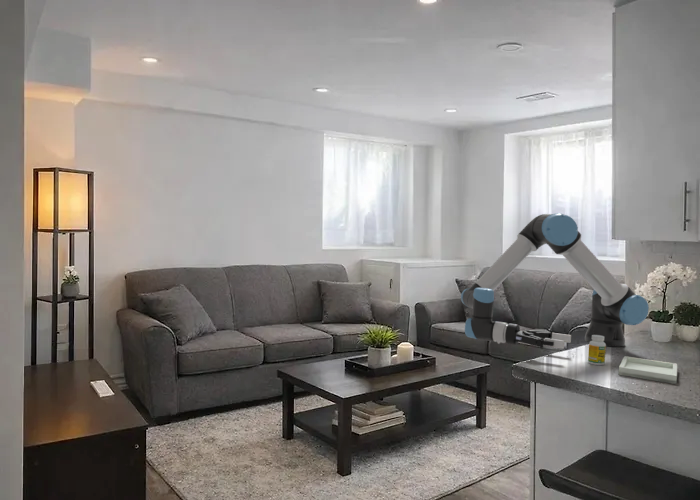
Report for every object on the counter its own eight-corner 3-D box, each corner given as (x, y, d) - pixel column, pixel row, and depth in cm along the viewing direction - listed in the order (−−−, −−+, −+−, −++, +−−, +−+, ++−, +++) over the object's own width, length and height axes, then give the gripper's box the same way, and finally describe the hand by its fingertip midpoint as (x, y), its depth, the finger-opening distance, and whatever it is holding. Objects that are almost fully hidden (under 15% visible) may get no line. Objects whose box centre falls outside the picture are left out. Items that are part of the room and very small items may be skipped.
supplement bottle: (593, 361, 200) (595, 333, 199) (607, 364, 195) (610, 336, 195) (584, 362, 197) (586, 334, 196) (598, 366, 192) (600, 337, 192)
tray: (623, 363, 199) (624, 356, 199) (676, 371, 191) (677, 363, 191) (618, 374, 182) (619, 366, 182) (676, 384, 174) (676, 375, 174)
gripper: (514, 338, 222) (572, 346, 212) (497, 348, 201) (560, 358, 190) (516, 319, 222) (574, 326, 211) (498, 327, 200) (561, 336, 190)
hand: (567, 341), depth 201 cm, fingers open, 13 cm apart
